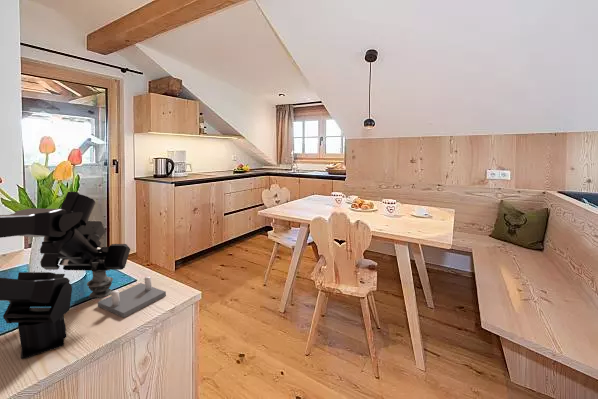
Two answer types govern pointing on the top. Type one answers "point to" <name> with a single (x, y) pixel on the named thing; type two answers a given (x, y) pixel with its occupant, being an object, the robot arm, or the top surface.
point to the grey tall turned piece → (99, 283)
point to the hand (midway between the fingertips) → (102, 268)
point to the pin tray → (131, 298)
